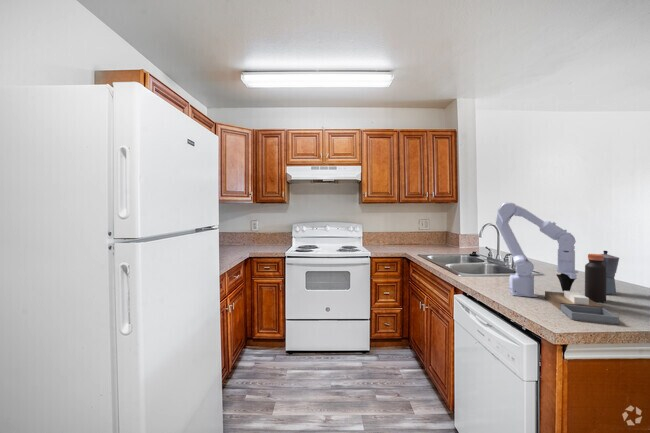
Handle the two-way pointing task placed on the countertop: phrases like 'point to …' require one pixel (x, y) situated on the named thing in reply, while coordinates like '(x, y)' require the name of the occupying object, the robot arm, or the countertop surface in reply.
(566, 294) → the tile back
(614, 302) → the countertop surface
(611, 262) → the moka pot
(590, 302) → the walnut board
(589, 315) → the box
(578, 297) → the tile front
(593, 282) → the bottle
